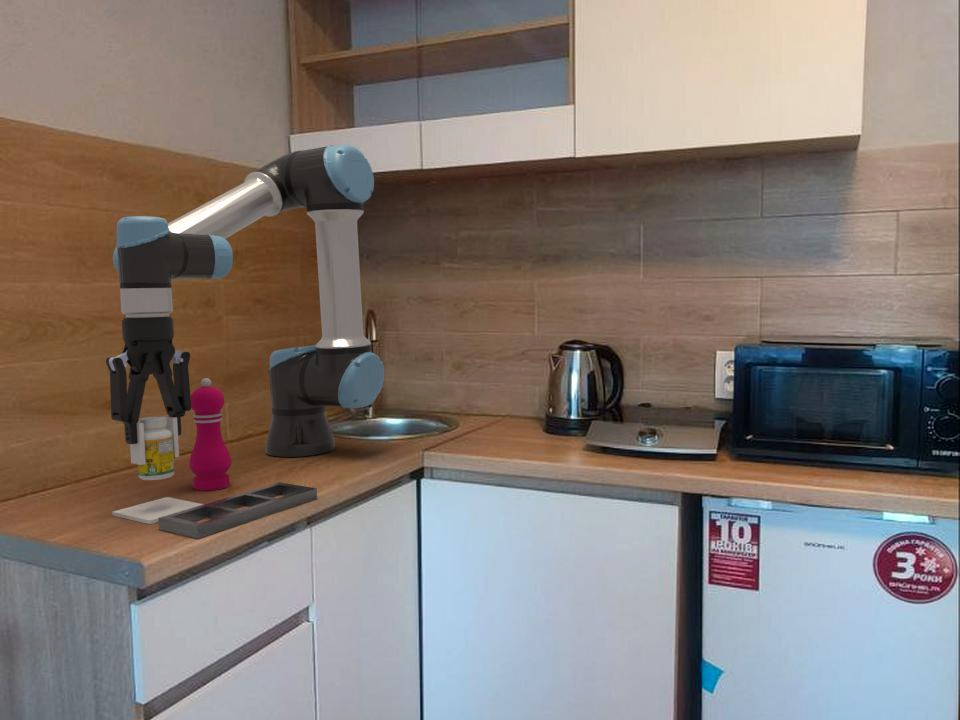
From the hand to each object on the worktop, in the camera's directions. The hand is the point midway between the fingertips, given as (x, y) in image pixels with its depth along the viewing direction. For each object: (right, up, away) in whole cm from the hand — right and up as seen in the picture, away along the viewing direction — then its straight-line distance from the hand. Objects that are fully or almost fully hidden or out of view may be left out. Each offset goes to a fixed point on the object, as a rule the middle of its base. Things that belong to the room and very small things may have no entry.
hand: (155, 459), depth 123 cm
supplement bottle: (0, -3, 0) cm, 3 cm away
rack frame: (+14, -8, -1) cm, 17 cm away
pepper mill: (+3, -7, +17) cm, 19 cm away
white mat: (0, -9, +1) cm, 9 cm away
